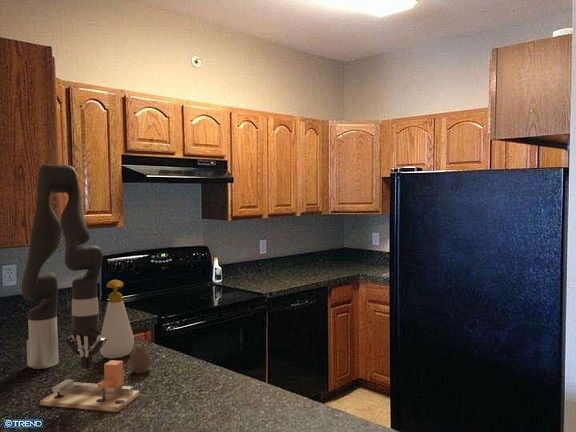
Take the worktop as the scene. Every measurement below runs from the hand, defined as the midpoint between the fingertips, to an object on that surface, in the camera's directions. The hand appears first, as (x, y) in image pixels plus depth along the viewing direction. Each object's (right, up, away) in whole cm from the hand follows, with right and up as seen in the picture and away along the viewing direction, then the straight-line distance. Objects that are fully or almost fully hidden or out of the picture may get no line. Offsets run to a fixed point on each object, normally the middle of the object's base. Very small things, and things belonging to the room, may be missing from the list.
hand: (86, 368), depth 149 cm
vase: (+11, -7, +19) cm, 23 cm away
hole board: (+3, -8, -3) cm, 9 cm away
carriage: (+8, -7, -4) cm, 12 cm away
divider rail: (+3, -7, -3) cm, 8 cm away
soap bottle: (-3, -7, +35) cm, 35 cm away
